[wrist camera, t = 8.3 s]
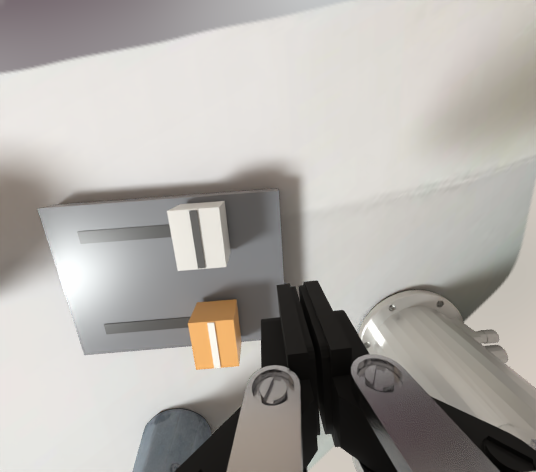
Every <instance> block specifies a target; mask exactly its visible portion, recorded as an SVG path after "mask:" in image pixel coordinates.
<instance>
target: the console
mask: <svg viewBox="0 0 536 472" xmlns="http://www.w3.org/2000/svg"><path fill="white" fill-rule="evenodd" d="M217 201H225V208H226V217H227V226H228V234H229V243H230V251H231V253H230V257H229V260H228V263H227V266H226V267H221V268H208V269H196V270H183V271H178V270H177V264H176V259H175V253H174V248H173V242H172V237H171V231H170V225H169V220H168V214H167V211H168V210H170V209H172V208H174V207H176V206H178V205H180V204H190V203H203V202H217ZM37 210H38V213H39V216H40V219H41V222H42V225H43V228H44V231H45V235H46V238H47V241H48V244H49V247H50V250H51V253H52V256H53V259H54V262H55V266H56V269H57V272H58V275H59V278H60V281H61V284H62V287H63V290H64V293H65V297H66V300H67V303H68V306H69V309H70V312H71V315H72V318H73V321H74V324H75V327H76V331H77V334H78V337H79V340H80V343H81V346H82V349H83V352H84V355H92V354H103V353H115V352H127V351H139V350H150V349H162V348H174V347H186V346H192V344H191V338H190V333H189V327H188V322H189V320H190V317H191V315H192V313H193V310H194V308H195V306H196V304H197V302H209V301H221V300H233V299H237V307H238V316H239V325H240V333H241V342H244V341H256V340H261V319H267V318H276V317H280V315H279V305H278V295H277V285H281V284H284V273H283V255H282V237H281V220H280V202H279V190H278V189H277V188H274V189H260V190H247V191H233V192H220V193H206V194H192V195H179V196H165V197H152V198H138V199H125V200H111V201H98V202H84V203H70V204H58V205H53V206H48V207H43V208H38V209H37Z"/></svg>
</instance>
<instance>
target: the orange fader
mask: <svg viewBox="0 0 536 472" xmlns="http://www.w3.org/2000/svg"><path fill="white" fill-rule="evenodd" d="M188 327H189V333H190V338H191V344H192V349H193V355H194V360H195V366H196V370H199V369H210V368H222V367H234V366H239V361H240V351H241V333H240V325H239V316H238V307H237V299H233V300H221V301H209V302H197V304H196V306H195V308H194V310H193V313H192V315H191V317H190V320H189V322H188Z"/></svg>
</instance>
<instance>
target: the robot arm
mask: <svg viewBox="0 0 536 472" xmlns="http://www.w3.org/2000/svg"><path fill="white" fill-rule="evenodd" d="M277 295H278V305H279V315H280V317H276V318H267V319H261V365H262V368H261V369H259V370H258V371H256V372H255V373H254V374H253V375H252V376H251V377H250V378H249V380H248V383H247V385H246V389H245V394H244V398H243V402H242V406H241V407H240V408H239V409H238V410H237V411H236V412H235V413H234V414H233V415H232V416H231V417H230V418H229V419H228V420H227V421H226V422H225V423H224V424H223V425H222V426H221V427H220V428H219V429H217V430H216V431H215V432H214V433H213V434H212V435H211V436H210V437H209V438H208V439H207V440H206V441H205V442H204V443H203V444H202V445H201V446H200V447H199V448H198V449H197V450H196V451H195V452H194V453H193V454H192V455H191V456H190V457H189V458H188V459H187V460H186V461H185V462H184V463H183V464H181V465H180V466H179V467H178V468H177V469H176V470H175V471H174V472H308V470H307V466H308V464H309V463H310V461H311V460H312V458H313V457H314V455H315V453H316V452H317V450H318V446H317V435H320V422H319V412H320V416H321V420H322V424H323V428H324V431H325V434H332V438H333V441H334V445H335V447H341V448H342V449H344V450H345V451H346V452H348V453H349V454H350V455H352V456H353V463H354V466H355V469H356V471H357V472H536V388H535V387H534V386H532V385H531V384H530V383H528V382H527V381H526V380H525V379H524V378H522V377H521V376H520V375H518V374H517V373H516V372H515V371H514V370H512V369H511V368H510V367H508V366H507V365H506V364H505V363H506V362H507V361H508V356H507V353H506V351H505V350H504V349H503V348H502V347H501V346H499V345H490V346H482V345H481V343H496V342H498V341H499V336H498V334H497V333H496V332H495V331H494V330H481V331H478V332H475V331H474V330H472V329H471V328H469V327H468V326H467V325H465V324H464V322H463V318H462V316H461V314H460V312H459V310H458V309H457V308H456V307H455V306H454V305H453V304H452V303H451V302H450V301H448V300H447V299H446V298H444V297H442V296H440V295H439V294H437V293H433V292H430V291H424V290H410V291H405V292H401V293H397V294H395V295H393V296H390V297H388V298H386V299H385V300H383V301H382V302H380V303H379V304H377V305H376V306H375V307H374V308H373V309H372V310H371V311H370V312H369V314H368V315H367V316H366V317H365V319H364V321H363V323H362V325H361V327H360V330H359V333H357V332H356V330H355V328H354V327H353V325H352V323H351V322H350V320H349V318H348V316H347V315H346V313H345V312H344V311H343V310H339V311H333V310H332V308H331V306H330V304H329V302H328V300H327V298H326V296H325V295H324V293H323V291H322V289H321V287H320V285H319V283H318V281H308V282H304V284H303V286H299V295H300V301H299V297H298V294H297V291H296V287H290V284H281V285H277Z"/></svg>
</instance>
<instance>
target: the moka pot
mask: <svg viewBox="0 0 536 472" xmlns="http://www.w3.org/2000/svg"><path fill="white" fill-rule="evenodd" d="M211 434H212V433H211V429H210V426H209V425H208V423H207V422H206V420H205V419H204V418H203V417H202V416H200V415H199V414H197V413H195V412H192V411H189V410H185V409H171V410H167V411H164V412H161V413H159V414H157V415H156V416H155V417H154V418H152V419H151V420H150V422H149V423H147V425H146V426H145V429H144V432H143V436H142V439H141V443H140V447H139V450H138V454H137V457H136V461H135V464H134V468H133V472H174V471H175V470H176V469H177V468H178V467H179V466H180V465H181V464H183V463H184V462H185V461H186V460H187V459H188V458H189V457H190V456H191V455H192V454H193V453H194V452H195V451H196V450H197V449H198V448H199V447H200V446H201V445H202V444H203V443H204V442H205V441H206V440H207V439H208V438H209V437H210V436H211Z"/></svg>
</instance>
